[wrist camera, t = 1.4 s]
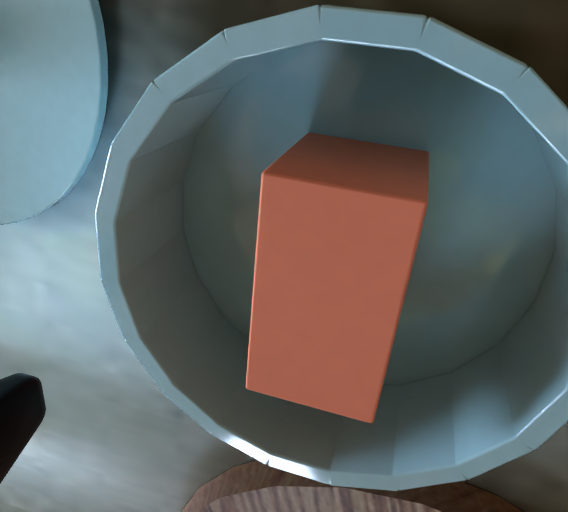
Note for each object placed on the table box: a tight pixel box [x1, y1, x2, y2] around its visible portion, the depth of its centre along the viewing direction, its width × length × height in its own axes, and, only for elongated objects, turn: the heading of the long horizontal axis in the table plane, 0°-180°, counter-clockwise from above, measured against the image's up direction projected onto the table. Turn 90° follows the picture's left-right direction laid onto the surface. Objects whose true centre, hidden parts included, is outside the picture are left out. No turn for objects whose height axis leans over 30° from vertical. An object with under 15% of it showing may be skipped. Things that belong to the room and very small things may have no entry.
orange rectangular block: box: [246, 133, 429, 423], centre depth 15 cm, size 7×4×5 cm, turn 174°
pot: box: [95, 4, 568, 491], centre depth 15 cm, size 14×14×5 cm
